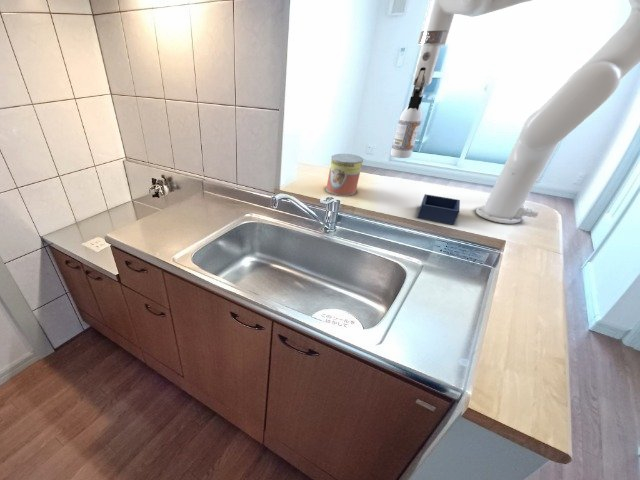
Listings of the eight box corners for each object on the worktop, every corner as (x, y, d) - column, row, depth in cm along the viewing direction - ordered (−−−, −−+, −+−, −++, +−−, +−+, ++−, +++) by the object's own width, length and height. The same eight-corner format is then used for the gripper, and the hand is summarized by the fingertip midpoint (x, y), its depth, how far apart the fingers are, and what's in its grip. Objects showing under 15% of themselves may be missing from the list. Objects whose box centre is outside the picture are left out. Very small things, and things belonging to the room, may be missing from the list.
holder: (454, 212, 109) (459, 199, 106) (453, 224, 102) (459, 211, 99) (420, 206, 113) (424, 194, 110) (417, 217, 106) (422, 204, 103)
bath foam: (405, 159, 113) (424, 91, 101) (386, 156, 117) (403, 90, 105) (414, 155, 116) (433, 90, 104) (395, 152, 120) (412, 89, 108)
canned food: (320, 190, 125) (325, 158, 117) (334, 183, 132) (340, 152, 124) (347, 198, 119) (354, 164, 112) (360, 190, 126) (368, 157, 118)
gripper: (445, 38, 90) (422, 114, 101) (447, 39, 101) (427, 107, 112) (415, 39, 92) (397, 112, 104) (421, 40, 104) (404, 106, 115)
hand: (413, 109), depth 108 cm, fingers closed on bath foam, 2 cm apart
